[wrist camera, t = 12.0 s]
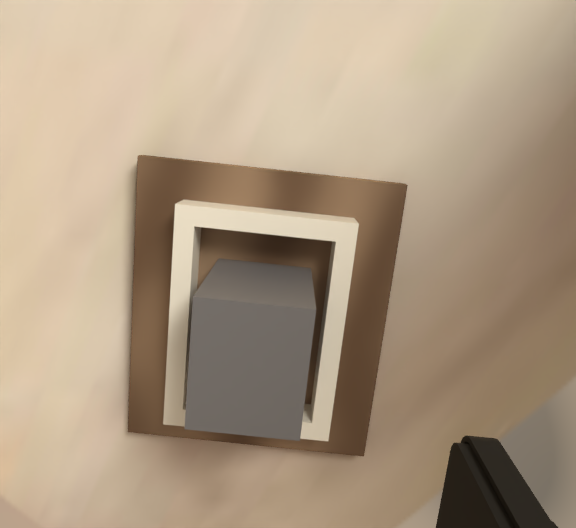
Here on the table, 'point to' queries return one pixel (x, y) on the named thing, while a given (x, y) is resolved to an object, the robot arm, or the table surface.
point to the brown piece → (273, 250)
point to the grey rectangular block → (250, 350)
